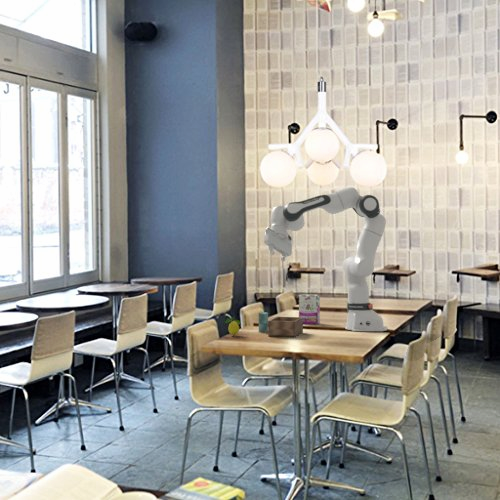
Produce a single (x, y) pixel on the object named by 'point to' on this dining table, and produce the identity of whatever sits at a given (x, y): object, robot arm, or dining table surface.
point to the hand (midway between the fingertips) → (277, 257)
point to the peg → (263, 322)
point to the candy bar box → (309, 308)
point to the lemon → (233, 326)
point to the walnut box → (285, 326)
